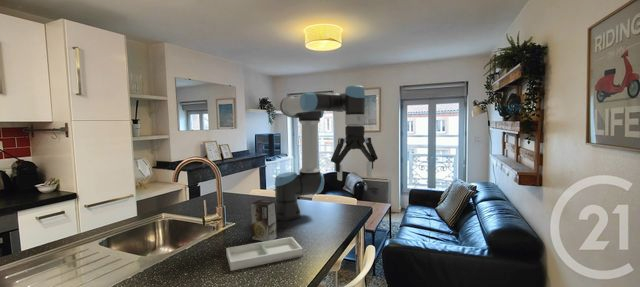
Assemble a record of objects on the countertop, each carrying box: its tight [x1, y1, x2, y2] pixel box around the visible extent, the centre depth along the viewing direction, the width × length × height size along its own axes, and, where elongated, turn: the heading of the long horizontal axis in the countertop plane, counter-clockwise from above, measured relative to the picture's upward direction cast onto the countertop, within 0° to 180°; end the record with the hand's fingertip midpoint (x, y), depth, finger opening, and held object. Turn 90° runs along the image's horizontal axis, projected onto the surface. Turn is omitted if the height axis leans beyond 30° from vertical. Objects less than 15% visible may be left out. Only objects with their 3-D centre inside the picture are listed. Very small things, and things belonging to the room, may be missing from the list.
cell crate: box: [225, 236, 304, 272], centre depth 111 cm, size 13×26×3 cm, turn 114°
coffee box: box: [250, 199, 277, 242], centre depth 128 cm, size 9×6×16 cm
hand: (354, 178), depth 117 cm, fingers open, 13 cm apart
